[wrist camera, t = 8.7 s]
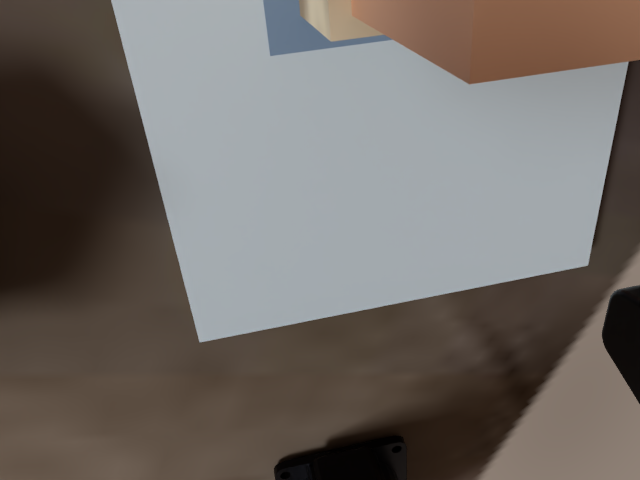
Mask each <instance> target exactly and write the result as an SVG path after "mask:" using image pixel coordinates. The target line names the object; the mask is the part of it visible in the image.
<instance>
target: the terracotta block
mask: <svg viewBox="0 0 640 480" xmlns="http://www.w3.org/2000/svg"><path fill="white" fill-rule="evenodd" d="M351 6H352V16H353V17H355V18H357V19H358V20H360V21H362V22H363V23H365V24H367V25H369V26H370V27H372V28H374V29H375V30H377V31H379V32H381V33H382V34H384V35H386V36H387V37H389V38H391V39H393V40H394V41H396V42H398V43H399V44H401V45H403V46H405V47H406V48H408V49H410V50H411V51H413V52H415V53H416V54H418V55H420V56H422V57H423V58H425V59H427V60H428V61H430V62H432V63H434V64H435V65H437V66H439V67H440V68H442V69H444V70H446V71H447V72H449V73H451V74H452V75H454V76H456V77H458V78H459V79H461V80H463V81H464V82H466V83H468V84H476V83H483V82H490V81H497V80H504V79H511V78H518V77H524V76H531V75H538V74H545V73H552V72H559V71H566V70H573V69H580V68H587V67H594V66H601V65H607V64H614V63H621V62H628V61H635V60H640V0H351Z"/></svg>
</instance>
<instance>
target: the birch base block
mask: <svg viewBox="0 0 640 480" xmlns="http://www.w3.org/2000/svg"><path fill="white" fill-rule="evenodd" d="M299 7H300V16H301V17H303V18H304V19H305V20H306V21H307V22H308V23H310V24H311V25H312V26H313V27H314V28H315V29H317V30H318V31H319V32H320V33H321V34H323V35H324V36H325V37H326V38H327V39H328V40H330V41H331V42H333V41H340V40H348V39H356V38H363V37H371V36H378V35H384V34H382V33H381V32H379V31H377V30H375V29H374V28H372V27H370V26H369V25H367V24H365V23H363V22H362V21H360V20H358V19H357V18H355V17H353V16H352V6H351V0H299Z"/></svg>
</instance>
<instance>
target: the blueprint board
mask: <svg viewBox="0 0 640 480" xmlns="http://www.w3.org/2000/svg"><path fill="white" fill-rule="evenodd" d="M111 1H112V5H113V9H114V13H115V17H116V20H117V24H118V28H119V32H120V36H121V40H122V44H123V48H124V51H125V55H126V59H127V63H128V67H129V71H130V75H131V79H132V82H133V86H134V90H135V94H136V98H137V102H138V106H139V109H140V113H141V117H142V121H143V125H144V129H145V133H146V137H147V140H148V144H149V148H150V152H151V156H152V160H153V164H154V168H155V171H156V175H157V179H158V183H159V187H160V191H161V195H162V199H163V202H164V206H165V210H166V214H167V218H168V222H169V226H170V229H171V233H172V237H173V241H174V245H175V249H176V253H177V257H178V260H179V264H180V268H181V272H182V276H183V280H184V284H185V288H186V291H187V295H188V299H189V303H190V307H191V311H192V315H193V318H194V322H195V326H196V330H197V334H198V338H199V342H205V341H210V340H215V339H220V338H225V337H230V336H235V335H240V334H245V333H250V332H255V331H260V330H265V329H270V328H275V327H280V326H285V325H290V324H295V323H300V322H305V321H310V320H315V319H321V318H326V317H331V316H336V315H341V314H346V313H351V312H356V311H361V310H366V309H371V308H376V307H381V306H386V305H391V304H396V303H401V302H406V301H411V300H416V299H421V298H426V297H432V296H437V295H442V294H447V293H452V292H457V291H462V290H467V289H472V288H477V287H482V286H487V285H492V284H497V283H502V282H507V281H512V280H517V279H522V278H527V277H532V276H537V275H542V274H548V273H553V272H558V271H563V270H568V269H573V268H578V267H583V266H588V262H589V257H590V252H591V247H592V242H593V237H594V232H595V227H596V222H597V217H598V212H599V207H600V202H601V197H602V192H603V187H604V182H605V177H606V172H607V167H608V162H609V157H610V152H611V147H612V142H613V137H614V132H615V127H616V122H617V117H618V112H619V107H620V102H621V97H622V92H623V87H624V82H625V77H626V72H627V67H628V62H629V61H628V62H621V63H614V64H607V65H601V66H594V67H587V68H580V69H573V70H566V71H559V72H552V73H545V74H538V75H531V76H524V77H518V78H511V79H504V80H497V81H490V82H483V83H476V84H468V83H466V82H464V81H463V80H461V79H459V78H458V77H456V76H454V75H452V74H451V73H449V72H447V71H446V70H444V69H442V68H440V67H439V66H437V65H435V64H434V63H432V62H430V61H428V60H427V59H425V58H423V57H422V56H420V55H418V54H416V53H415V52H413V51H411V50H410V49H408V48H406V47H405V46H403V45H401V44H399V43H398V42H396V41H394V40H393V39H391V38H389V37H387V36H386V35H378V36H371V37H363V38H356V39H348V40H340V41H333V42H331V41H330V40H328V39H327V38H326V37H325V36H324V35H323V34H321V33H320V32H319V31H318V30H317V29H315V28H314V27H313V26H312V25H311V24H310V23H308V22H307V21H306V20H305V19H304V18H303V17H301V16H300V7H299V0H111Z"/></svg>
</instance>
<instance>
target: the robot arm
mask: <svg viewBox="0 0 640 480" xmlns="http://www.w3.org/2000/svg"><path fill="white" fill-rule="evenodd" d="M602 338H603V343H604V346H605V348H606V350H607V352H608V353H609V355H610V356H611V358H612V360H613V361H614V363H615V364H616V366H617V368H618V369H619V371H620V373H621V374H622V376H623V378H624V379H625V381H626V382H627V384H628V386H629V387H630V389H631V391H632V392H633V394H634V395H635V397H636V399H637V400H638V402H639V404H640V286H633V287H628V288H623V289H619V290H616V291H614V293H613V294H612V295H611V297H610V300H609V305H608V309H607V313H606V317H605V322H604V326H603V330H602ZM274 474H275V480H407V455H406V444H405V442H404V439H403V438H402V437H401V436H392V437H388V438H383V439H379V440H375V441H370V442H366V443H362V444H357V445H353V446H349V447H344V448H340V449H336V450H331V451H327V452H323V453H318V454H314V455H310V456H305V457H301V458H297V459H292V460H288V461H284V462H281V463H279V464H277V465H276V466H275V468H274Z"/></svg>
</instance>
